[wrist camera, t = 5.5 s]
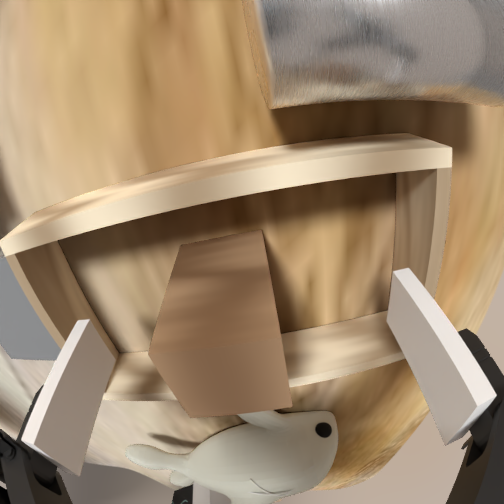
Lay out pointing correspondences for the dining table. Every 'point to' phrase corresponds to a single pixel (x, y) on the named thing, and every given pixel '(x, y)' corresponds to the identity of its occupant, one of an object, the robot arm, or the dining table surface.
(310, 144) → the birch crate
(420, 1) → the lying tin can
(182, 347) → the walnut block
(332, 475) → the dining table surface
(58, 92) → the dining table surface
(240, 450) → the toy
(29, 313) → the slate coaster
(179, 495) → the decorative object
